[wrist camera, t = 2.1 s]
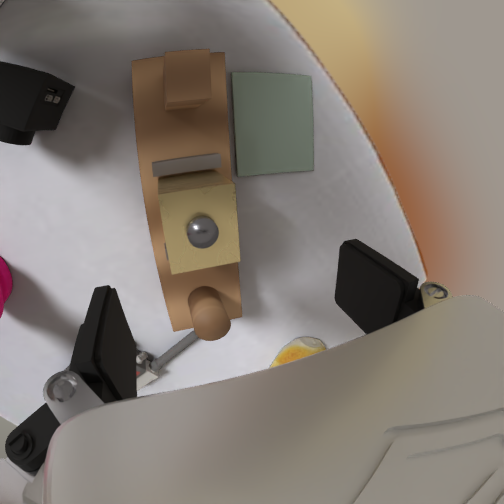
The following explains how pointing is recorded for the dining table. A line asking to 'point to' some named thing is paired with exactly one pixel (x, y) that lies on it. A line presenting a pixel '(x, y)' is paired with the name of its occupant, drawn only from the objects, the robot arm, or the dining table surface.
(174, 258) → the lever cap
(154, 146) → the plane body
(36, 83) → the digital camera
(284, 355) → the bread roll
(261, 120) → the felt pad
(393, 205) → the dining table surface
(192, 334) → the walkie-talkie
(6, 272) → the pepper mill
